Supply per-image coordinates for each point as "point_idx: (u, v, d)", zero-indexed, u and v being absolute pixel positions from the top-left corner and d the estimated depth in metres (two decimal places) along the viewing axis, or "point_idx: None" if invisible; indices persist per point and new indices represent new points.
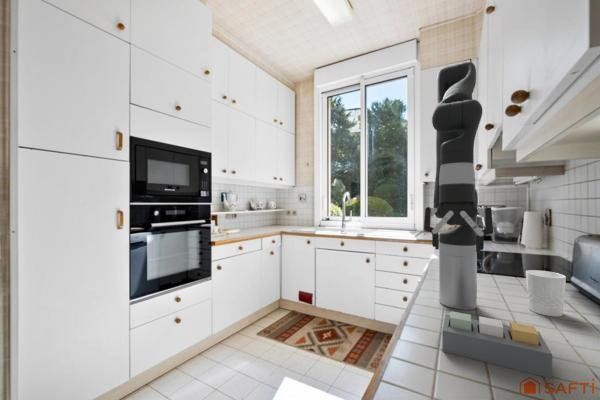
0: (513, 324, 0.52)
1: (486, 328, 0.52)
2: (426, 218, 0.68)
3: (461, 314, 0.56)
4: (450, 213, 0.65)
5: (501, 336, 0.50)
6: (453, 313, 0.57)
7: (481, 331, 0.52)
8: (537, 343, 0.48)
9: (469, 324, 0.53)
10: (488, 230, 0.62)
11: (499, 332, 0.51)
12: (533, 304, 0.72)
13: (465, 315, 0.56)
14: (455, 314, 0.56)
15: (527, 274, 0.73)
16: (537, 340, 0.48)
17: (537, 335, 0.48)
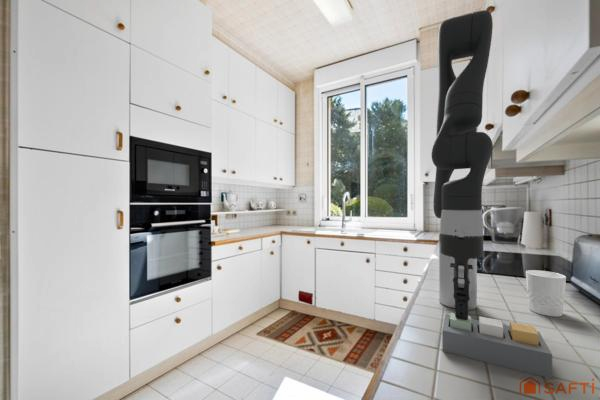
0: (513, 324, 0.52)
1: (486, 328, 0.52)
2: (468, 290, 0.51)
3: None
4: (472, 270, 0.53)
5: (501, 336, 0.50)
6: (453, 314, 0.57)
7: (481, 331, 0.52)
8: (537, 343, 0.48)
9: (469, 326, 0.53)
10: None
11: (499, 332, 0.51)
12: (533, 304, 0.72)
13: None
14: None
15: (527, 274, 0.73)
16: (537, 340, 0.48)
17: (537, 335, 0.48)
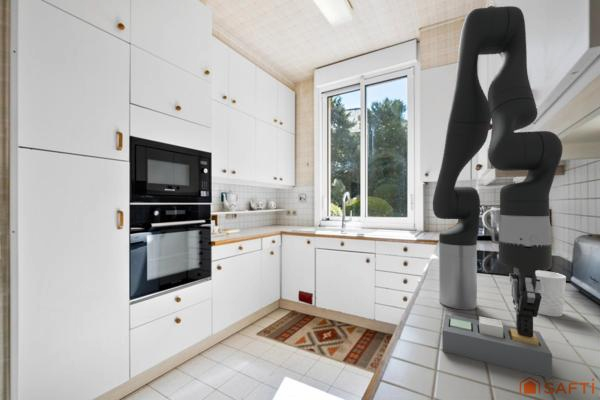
0: (513, 330, 0.52)
1: (486, 328, 0.52)
2: None
3: (461, 322, 0.56)
4: None
5: (501, 336, 0.50)
6: (453, 320, 0.57)
7: (481, 331, 0.52)
8: None
9: None
10: None
11: (499, 332, 0.51)
12: None
13: (465, 323, 0.56)
14: (455, 321, 0.56)
15: None
16: None
17: (537, 342, 0.48)
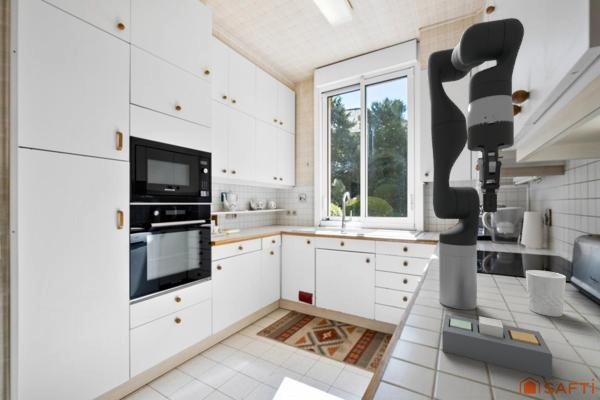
0: (513, 332, 0.52)
1: (486, 328, 0.52)
2: (499, 175, 0.49)
3: (461, 322, 0.56)
4: (502, 159, 0.52)
5: (501, 336, 0.50)
6: (453, 320, 0.57)
7: (481, 331, 0.52)
8: None
9: None
10: None
11: (499, 332, 0.51)
12: (533, 304, 0.72)
13: (465, 323, 0.56)
14: (455, 321, 0.56)
15: (527, 274, 0.73)
16: None
17: (537, 344, 0.48)
